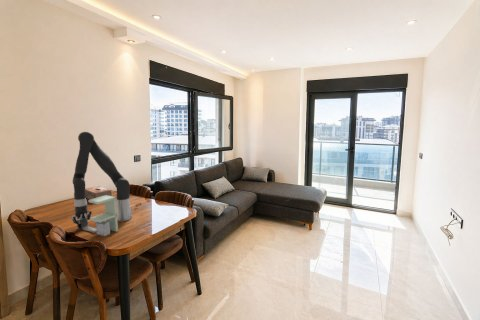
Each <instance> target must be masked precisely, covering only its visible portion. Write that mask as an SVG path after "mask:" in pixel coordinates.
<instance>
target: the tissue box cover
mask: <svg viewBox="0 0 480 320" xmlns="http://www.w3.org/2000/svg"><path fill="white" fill-rule="evenodd" d="M85 193H86V198H87V199H86V200H88V199H89V200H90V199H94V198H97V197H101V196H104V195H108V196H113V195H112V189H109V188H107V187H103V186H101V185H97V186H93V187H92V186H91V187H88V188H86V187H85Z"/></svg>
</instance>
